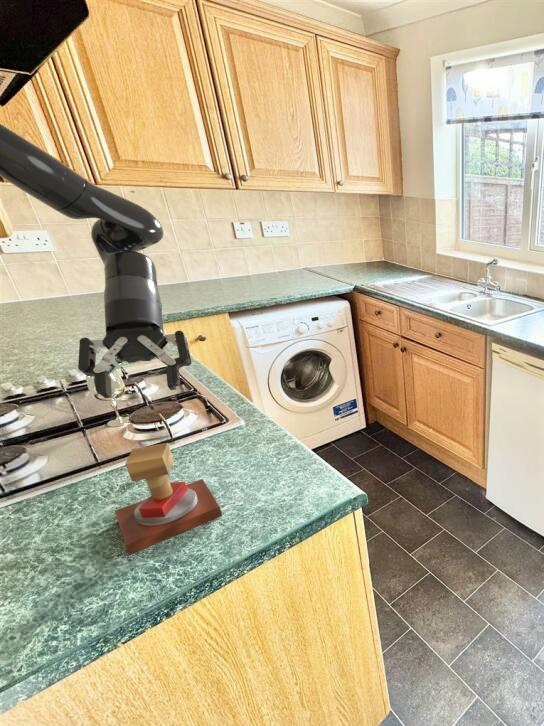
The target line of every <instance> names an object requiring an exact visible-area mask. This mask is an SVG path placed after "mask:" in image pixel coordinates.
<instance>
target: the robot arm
mask: <svg viewBox="0 0 544 726" xmlns="http://www.w3.org/2000/svg"><path fill="white" fill-rule="evenodd" d="M0 177H1V178H2V179H3V180H6V181H7V182H9V183H10V184H11V185H13V186H14V187H16V188H18V189H20V190H21V191H23V192H24V193H26V194H28V195H29V196H31V197H33V198H34V199H36V200H37V201H39V202H41V203H43V204H44V205H46V206H48V207H49V208H50V209H53V210H54V211H56V212H58V213H59V214H61V215H63V216H65V217H67V218H69V219H72V220H85V219H97V220H96V221H95V222H94V223H93V225H92V226H91V231H90V235H91V240H92V243H93V244H94V247H95V249H96V251H97V253H98V256H99V257H100V259H101V261H102V263H103V265H104V268H103V269H104V290H103V304H104V305H103V306H104V321H105V322H104V323H105V336H104V338H103V339H90V338H88V337H82V338H80V339H79V344H78V346H79V347H78V365H77V368H78V370H79V371H80V372H81V373H82V374H84V375H85V376H86V377H87V376H95V386H96V387H95V388H96V391H97V393H99V394H100V395H101V396H103V397H104V398H112V389H111V378H110V377H109V376H110V375H111V374H112V373H113V371H114V370H117V369H120V368H121V367H122V366H123V364H124V363H128V364H133V363H136V362H151V361H152V360H154V359H157V360H158V361H160V362H161V363H162V364H164V365H165V374H166V384H167V388H168V389H169V390H170V391H176V390H177V387H180V385H181V378H180V369H181V368H183V367H190V366H191V365H192V358H191V357H192V356H191V353H190V349H189V348H190V347H189V344H188V343H189V342H188V338H187V336H186V335H185V333H184V331H182V330H176V331H175V332H174V333H170V334H165V331H164V321H163V303H162V300H161V295H160V291H159V288H158V287H159V285H158V276H157V268H156V265H155V262H154V261H153V259H151V258H150V257H149V256H148V255H146V254H144V253H143V252H142V253H141V251H144V250H145V249H147V248H149V247H152V246H154V245H156V244H158V243H159V242H161V241H162V239H163V238H164V228H163V226H162V224H161V223H160V220H158V218H157V217H156V216H155V215H154V214H152V212H150V211H149V210H148V209H146V208H145V207H143V206H141V205H139V204H138V203H136V202H134V201H131V200H129V199H127V198H124V197H122V196H120V195H118V194H115V193H113V192H111V191H109V190H107V189H104V188H102V187H100V186H98V185H96V184H94V183H92V182H90V181H89V180H88V179H86V178H85V177H83V176H82V175H81V174H79V173H78V172H76V171H75V170H73V169H72V168H70V167H69V166H68V165H67V164H65V163H63V162H62V161H60V160H58V159H57V158H55V157H54V156H53V155H51V154H49V153H48V152H47V151H46V150H45V151H44V149H41V148H40V147H39V146H37V145H35V144H34V143H32V142H30V141H29V140H28V139H26V138H24V137H22V136H21V135H19V134H18V133H16V132H14V131H13V130H11V129H9V127H6V126H5V125H4V124H2V123H0ZM169 342H170V343H172V346H174V347H176V348H177V352H178V353H177V354H178V357H175V358H173V357H172V356H170V355H169V354H168V353H167V352H166V351H165V350H163V349H165V347H166V346H167V345H168V343H169ZM103 348H106V349H107V351H106V352H105V353H104V354H103V355H102V357H101V360H100V361H99V362H98V363H97V362H96V360H97V354H100V352H101V350H102V349H103ZM96 363H97V364H96Z"/></svg>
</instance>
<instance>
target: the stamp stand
mask: <svg viewBox="0 0 544 726" xmlns="http://www.w3.org/2000/svg"><path fill="white" fill-rule="evenodd" d="M186 487H187V488H189V489H192V490H193V491H194V492H195V493H196V495H197V499H198V501H197V504H196V505H195V507H194V508H193V509H192V510H191V511H190V512H189V513H187V514H186V515H184V516H182V517H181V518H179V519H177V520H174V521H172V522H169V523H166V524H161V525H155V526H146V525H142V524H140V523H138V522H137V520H136V518H135V516H134V512H135V509H136V508H137V506H138V505H139V504H140V503H141V502H143V501H144V500H145V499H143V500H141V501H137V502H134V503H131V504H128V505H127V506H123V507H120V508H117V509H116V510H114V514H115V516H116V520H117V523H118V526H119V530H120V532H121V536H122V538H123V542H124V545H125V548H126V550H127V552H128V555H133V554H135V553H137V552H140V551H142V550H145V549H147V548H150V547H152V546H154V545H156V544H158V543H161V542H163V541H166V540H168V539H170V538H172V537H175V536H178V535H180V534H183V533H185V532H187V531H189V530H192V529H194V528H197V527H199V526H201V525H203V524H207V523H209V522H211V521H213V520H216V519H219V518H221V517H222V516H223V513H222V510H221V507H220V504H219V503H218V502H217V500H216V498H215V497H214V495H213V494H212V492H211V490H210V488H209V487H208V485H207V483H206V482H205V480H204V479H203V478H201V479H199V480H196V481H193V482H190V483H188V484H186Z"/></svg>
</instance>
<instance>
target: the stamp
mask: <svg viewBox="0 0 544 726" xmlns="http://www.w3.org/2000/svg"><path fill="white" fill-rule="evenodd" d="M173 462H174V456H173V454H172V451H171V447H170V444H169V442H164V443H159V444H153V445H147V446H141V447H135V448H132V449H131V451H130V453H129V455H128V458H127V459H126V461H125V468H126V471H127V472H128V475H129V477H130V478H129V479H130V480H131V482H137V481H142V480H145V482H146V485H147V488H148V490H149V493H150V496H148V497H147V498H145V499H143V500H144V501H143V500H142V501H143V502H141V503H140V504H139V505H138V506H137V508H136V509H135V512H134V516H135V518H136V520H137V522H138V523H140V524H142V525H146V526H155V525H161V524H166V523H169V522H172V521H174V520H177V519H179V518H181V517H182V516H184V515H186V514H187V513H189V512H190V511H191V510H192V509H193V508H194V507H195V505H196V504H197V501H198V499H197V495H196V493H195V492H194V491H193V490H192V489H189V488H187V487H186V485H187V484H186V481H173V482H171V481H170V479H169V476H168V475H169V474H170V472H171V469H172V466H173Z"/></svg>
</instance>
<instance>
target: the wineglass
mask: <svg viewBox="0 0 544 726" xmlns="http://www.w3.org/2000/svg"><path fill="white" fill-rule="evenodd" d="M109 377H110V378H111V389H112V398H104V397H103V396H101V395H100V394H99V393H97V391H96V388H95V387H96V386H95V376H86V385H87V390H88V392H89V394H90V396H92V398H94V399H95V400H97V401H101V402H109V405H110V406H111V407H112V409H113V410H114V413H115V416H116V418H112V419H111V420H109V421H108V422H106V423H107V424H106V425H107V426H108V427H110V428H111V427H112V428H113V427H115V428H116V427H121V426H125V425H128V424H129V423H128V419H129V416H130V415H129V416H128V415H127V416H121V415H120V412H119V409H118V404H117V402H116V400H117V399H119V398H121V397H122V396H123V395H124V394H125V393H126V383H125V382H124V380H123V378H122V376H121V375H120V374H119V372H118V371H117V369H115V370H114V371H113V373H112V374H111V375H110V376H109Z"/></svg>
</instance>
